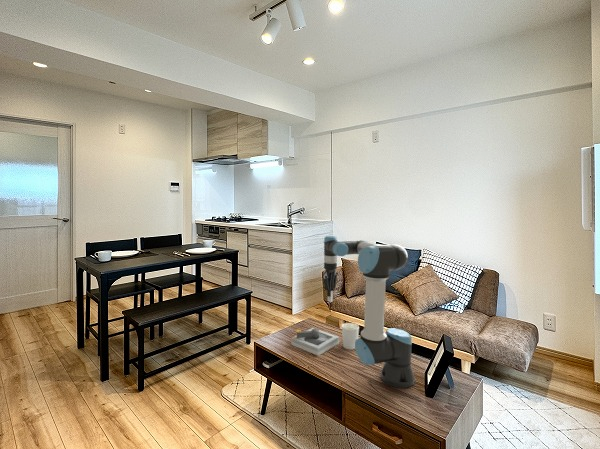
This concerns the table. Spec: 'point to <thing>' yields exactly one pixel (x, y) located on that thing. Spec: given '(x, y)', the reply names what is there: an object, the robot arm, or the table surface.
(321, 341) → the dial
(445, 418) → the table surface
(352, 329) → the candle holder
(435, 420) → the table surface
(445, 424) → the table surface
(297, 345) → the dial panel
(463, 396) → the table surface
